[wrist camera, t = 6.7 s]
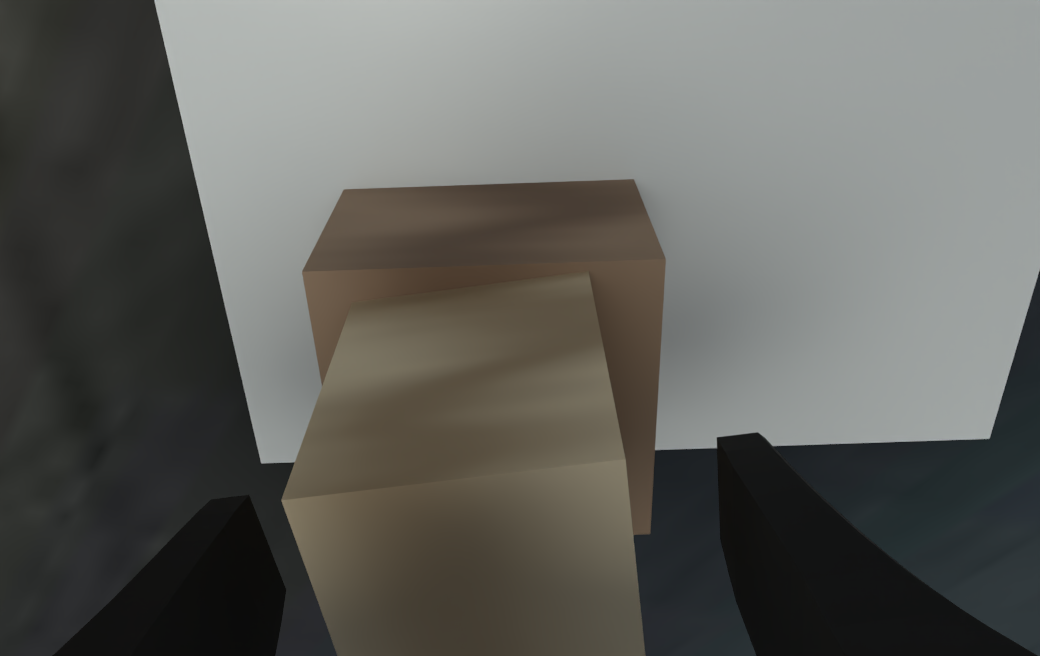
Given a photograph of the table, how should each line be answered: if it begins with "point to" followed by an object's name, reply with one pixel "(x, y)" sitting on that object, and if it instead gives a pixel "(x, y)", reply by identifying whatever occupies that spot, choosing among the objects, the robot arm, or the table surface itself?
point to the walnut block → (509, 274)
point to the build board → (657, 183)
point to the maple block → (470, 479)
